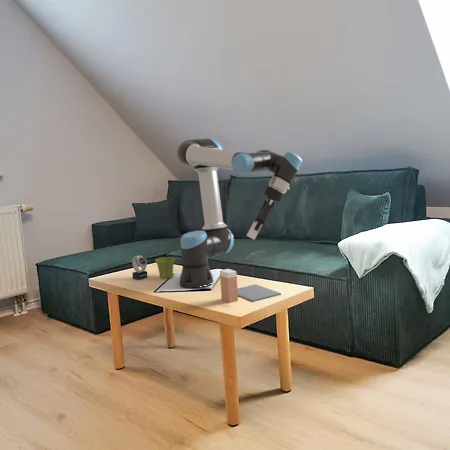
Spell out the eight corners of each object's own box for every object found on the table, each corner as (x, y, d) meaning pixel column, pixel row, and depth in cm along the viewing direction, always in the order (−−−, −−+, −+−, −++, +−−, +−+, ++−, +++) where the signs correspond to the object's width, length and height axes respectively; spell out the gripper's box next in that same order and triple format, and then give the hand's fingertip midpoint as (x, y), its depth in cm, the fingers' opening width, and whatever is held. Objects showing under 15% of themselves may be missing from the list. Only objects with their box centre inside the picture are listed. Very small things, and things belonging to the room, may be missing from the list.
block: (221, 299, 202) (219, 270, 200) (230, 297, 204) (228, 268, 202) (229, 302, 196) (227, 273, 195) (238, 300, 199) (236, 271, 197)
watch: (141, 280, 238) (139, 258, 237) (130, 278, 244) (128, 256, 242) (150, 277, 242) (148, 255, 241) (139, 275, 248) (137, 254, 246)
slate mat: (228, 291, 211) (228, 290, 211) (255, 285, 218) (255, 284, 218) (252, 301, 196) (252, 300, 196) (281, 294, 203) (281, 293, 203)
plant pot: (152, 277, 243) (151, 260, 241) (168, 273, 249) (166, 256, 248) (164, 280, 236) (163, 262, 235) (180, 276, 243) (178, 258, 241)
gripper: (288, 192, 184) (260, 243, 184) (281, 196, 209) (256, 241, 209) (270, 182, 184) (243, 233, 184) (265, 187, 209) (240, 232, 209)
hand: (250, 237), depth 196 cm, fingers open, 13 cm apart
